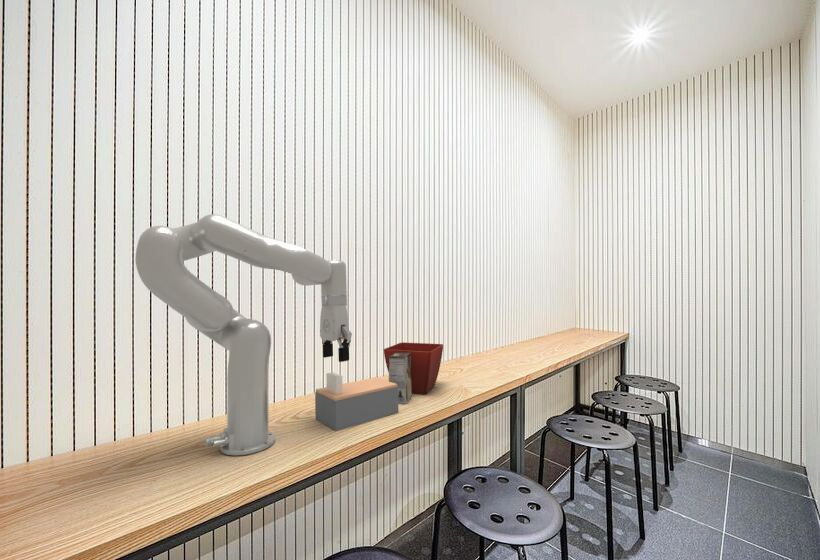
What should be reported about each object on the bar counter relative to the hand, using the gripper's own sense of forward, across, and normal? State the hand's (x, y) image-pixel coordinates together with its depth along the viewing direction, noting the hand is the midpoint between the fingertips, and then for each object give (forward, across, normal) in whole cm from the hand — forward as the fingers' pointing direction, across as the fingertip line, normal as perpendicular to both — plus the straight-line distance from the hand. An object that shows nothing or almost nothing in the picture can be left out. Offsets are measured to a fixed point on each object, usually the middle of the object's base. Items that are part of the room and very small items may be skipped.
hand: (335, 358), depth 105 cm
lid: (+10, 0, +7) cm, 13 cm away
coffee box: (+19, -4, +27) cm, 33 cm away
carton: (+19, 0, +7) cm, 20 cm away
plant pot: (+20, -10, +40) cm, 46 cm away
